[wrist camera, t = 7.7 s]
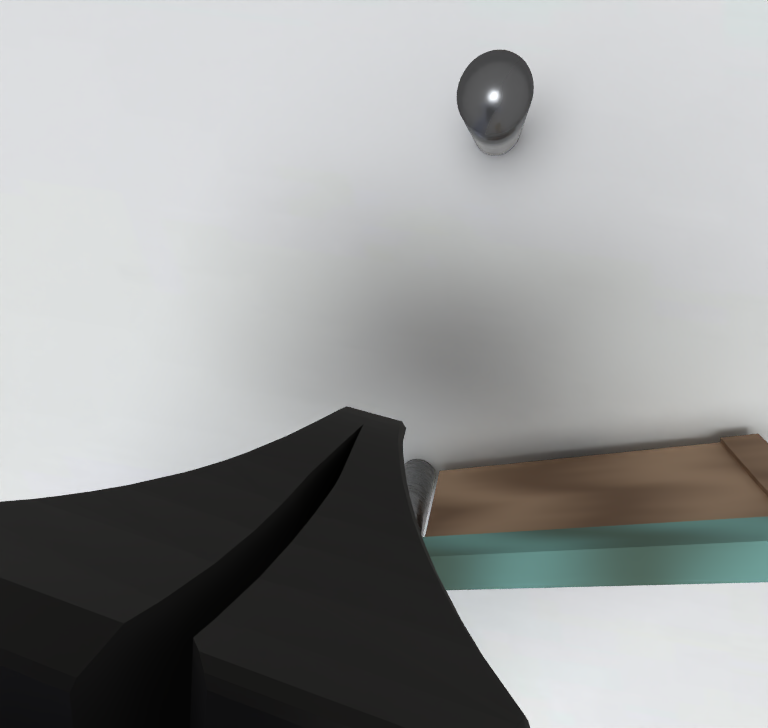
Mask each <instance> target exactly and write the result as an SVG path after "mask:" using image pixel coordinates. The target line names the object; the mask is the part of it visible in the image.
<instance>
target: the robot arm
mask: <svg viewBox="0 0 768 728" xmlns="http://www.w3.org/2000/svg"><path fill="white" fill-rule="evenodd" d="M405 430H406V427H405V426H404V424H403V422H402V421H398V420H394V419H391V418H387V417H383V416H380V415H376V414H372V413H369V412H365V411H362V410H358V409H354V408H351V407H344V408H342V409H340V410H338V411H336V412H334V413H332V414H330V415H328V416H326V417H324V418H322V419H320V420H318V421H316V422H314V423H312V424H310V425H308V426H306V427H304V428H302V429H300V430H298V431H296V432H294V433H292V434H290V435H288V436H286V437H283V438H281V439H278V440H276V441H274V442H271V443H269V444H266V445H264V446H262V447H259V448H257V449H254V450H252V451H250V452H247V453H244V454H242V455H239V456H236V457H233V458H230V459H228V460H225V461H222V462H218V463H215V464H212V465H208V466H205V467H202V468H199V469H195V470H191V471H188V472H184V473H180V474H175V475H171V476H166V477H162V478H158V479H153V480H149V481H144V482H140V483H136V484H131V485H126V486H121V487H115V488H109V489H103V490H97V491H91V492H84V493H77V494H69V495H62V496H55V497H46V498H38V499H28V500H16V501H4V502H0V728H530V726H529V722H528V720H527V718H526V717H525V715H524V714H523V712H522V711H521V709H520V708H519V707H518V705H517V704H516V702H515V701H514V699H513V698H512V697H511V695H510V694H509V692H508V691H507V690H506V688H505V687H504V685H503V684H502V683H501V681H500V680H499V678H498V677H497V675H496V674H495V673H494V671H493V670H492V668H491V667H490V666H489V664H488V663H487V661H486V660H485V658H484V657H483V655H482V654H481V652H480V651H479V649H478V647H477V646H476V644H475V642H474V641H473V639H472V637H471V636H470V634H469V632H468V631H467V629H466V627H465V626H464V624H463V622H462V621H461V619H460V617H459V615H458V613H457V611H456V609H455V607H454V605H453V603H452V601H451V599H450V597H449V595H448V593H447V592H446V590H445V588H444V586H443V584H442V582H441V580H440V578H439V576H438V574H437V572H436V570H435V567H434V565H433V563H432V560H431V558H430V555H429V553H428V551H427V548H426V546H425V543H424V540H423V538H422V535H421V532H420V529H419V526H418V523H417V520H416V517H415V513H414V510H413V506H412V502H411V498H410V494H409V490H408V485H407V480H406V473H405V467H404V459H403V439H404V435H405Z"/></svg>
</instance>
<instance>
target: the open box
mask: <svg viewBox="0 0 768 728" xmlns="http://www.w3.org/2000/svg"><path fill="white" fill-rule="evenodd" d="M423 540H424V543H425V546H426V548H427V551H428V553H429V555H430V558H431V560H432V563H433V565H434V567H435V570H436V572H437V574H438V576H439V578H440V580H441V582H442V584H443V586H444V588H445V590H471V589H511V588H551V587H591V586H631V585H671V584H711V583H751V582H768V443H767V442H766V441H765V440H764V439H763V438H762V437H761V436H760V435H759V434H750V435H740V436H731V437H721V438H720V442H719V443H709V444H699V445H689V446H679V447H669V448H660V449H650V450H640V451H630V452H620V453H610V454H600V455H591V456H581V457H571V458H561V459H551V460H541V461H531V462H522V463H512V464H502V465H492V466H482V467H472V468H462V469H453V470H443V471H439V476H438V480H437V485H436V489H435V494H434V499H433V503H432V508H431V512H430V517H429V521H428V526H427V531H426V535H425V537H423Z"/></svg>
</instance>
